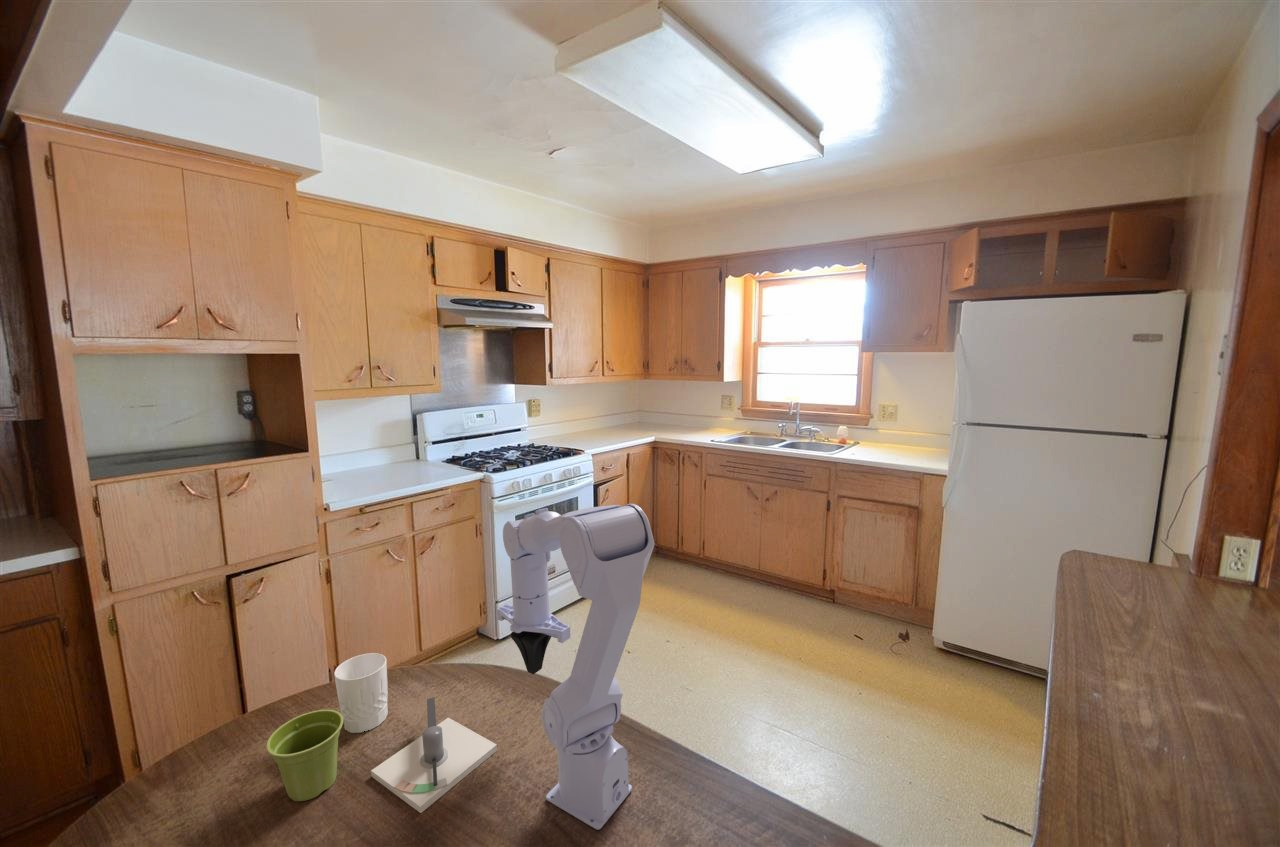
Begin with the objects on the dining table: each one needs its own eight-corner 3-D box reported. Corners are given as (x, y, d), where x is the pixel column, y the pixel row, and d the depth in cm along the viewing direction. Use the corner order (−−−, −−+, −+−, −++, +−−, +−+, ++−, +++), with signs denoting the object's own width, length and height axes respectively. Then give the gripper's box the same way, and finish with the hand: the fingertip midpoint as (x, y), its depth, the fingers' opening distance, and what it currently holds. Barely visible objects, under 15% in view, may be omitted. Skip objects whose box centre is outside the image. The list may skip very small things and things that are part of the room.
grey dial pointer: (446, 784, 75) (444, 759, 74) (425, 791, 74) (422, 765, 73) (441, 715, 89) (439, 693, 89) (423, 720, 88) (421, 698, 88)
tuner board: (497, 750, 83) (497, 743, 83) (421, 814, 72) (420, 806, 71) (448, 722, 89) (448, 716, 89) (371, 776, 78) (370, 769, 78)
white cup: (329, 727, 89) (323, 672, 88) (372, 700, 96) (367, 648, 95) (359, 742, 85) (353, 685, 84) (401, 712, 92) (396, 659, 91)
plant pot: (261, 820, 71) (254, 762, 70) (287, 768, 80) (281, 716, 79) (338, 803, 74) (332, 746, 73) (355, 754, 83) (350, 704, 82)
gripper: (480, 590, 85) (485, 668, 87) (546, 612, 77) (550, 698, 79) (513, 575, 91) (517, 648, 93) (577, 594, 83) (581, 674, 85)
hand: (534, 670), depth 86 cm, fingers closed
